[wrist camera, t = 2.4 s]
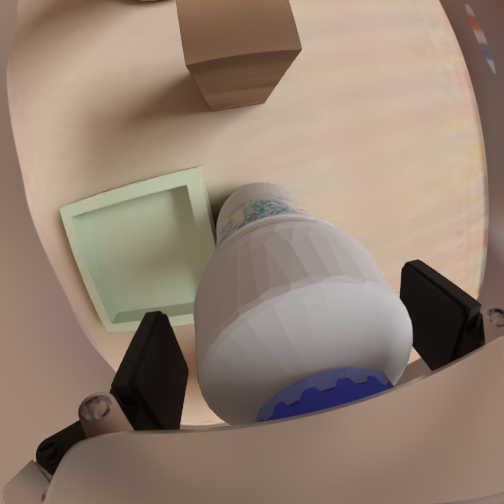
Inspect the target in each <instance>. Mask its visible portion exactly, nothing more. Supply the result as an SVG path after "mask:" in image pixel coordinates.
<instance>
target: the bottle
mask: <svg viewBox="0 0 504 504" xmlns="http://www.w3.org/2000/svg"><path fill="white" fill-rule="evenodd" d="M216 231H217V242H216V248H215V252H214V253H213V254H212V256H211V258H210V259H209V261H208V263H207V265H206V266H205V269H204V272H203V274H202V278H201V281H200V283H199V286H198V289H197V291H196V296H195V300H194V312H193V316H194V323H195V335H196V358H197V376H198V383H199V386H200V389H201V392H202V396H203V397H204V399H205V401H206V402H207V404H208V406H209V407H210V409H211V410H212V411H213V412H214V413H215V414H216V415H217V416H218V417H219V418H220V419H222V420H223V421H225V422H226V423H228V424H230V425H231V426H234V425H242V424H250V423H257V422H264V421H270V420H276V419H281V418H287V417H292V416H296V415H301V414H306V413H310V412H315V411H319V410H323V409H327V408H331V407H334V406H338V405H342V404H345V403H348V402H352V401H355V400H358V399H362V398H365V397H368V396H371V395H374V394H377V393H380V392H382V391H385V390H388V389H391V388H393V387H394V385H395V383H396V382H397V381H398V380H399V378H400V377H401V375H402V373H403V371H404V369H405V367H406V365H407V363H408V361H409V357H410V352H411V348H412V344H413V333H412V324H411V320H410V317H409V315H408V312H407V309H406V307H405V306H404V304H403V303H402V301H401V300H400V298H399V297H398V295H397V294H396V292H395V291H394V289H393V288H392V287H391V285H390V284H389V282H388V281H387V279H386V278H385V277H384V275H383V274H382V272H381V271H380V269H379V268H378V266H377V265H376V263H375V261H374V260H373V258H372V256H371V254H370V253H369V252H368V251H367V249H366V248H365V247H364V246H363V245H362V244H361V243H360V242H359V241H358V240H357V239H356V238H354V237H353V236H351V235H350V234H348V233H346V232H344V231H343V230H341V229H340V228H338V227H337V226H336V225H334V224H332V223H330V222H328V221H326V220H323V219H320V218H317V217H314V216H312V215H311V214H309V213H308V212H307V211H306V210H305V209H304V208H303V207H302V205H301V204H300V203H299V202H298V200H297V199H296V198H295V197H294V196H293V195H292V194H291V193H289V192H288V191H286V190H285V189H283V188H281V187H279V186H277V185H274V184H271V183H254V184H249V185H245V186H242V187H240V188H238V189H237V190H235V191H234V192H233V193H232V194H231V195H230V196H229V198H228V199H227V200H226V201H225V203H224V204H223V206H222V208H221V210H220V213H219V216H218V220H217V230H216Z"/></svg>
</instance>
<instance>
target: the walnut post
mask: <svg viewBox="0 0 504 504" xmlns="http://www.w3.org/2000/svg"><path fill="white" fill-rule="evenodd" d="M176 6H177V13H178V20H179V26H180V33H181V40H182V46H183V52H184V59H185V65H186V67H187V69H188V70H189V72H190V74H191V75H192V77H193V79H194V81H195V82H196V84H197V86H198V88H199V89H200V91H201V93H202V95H203V97H204V98H205V100H206V102H207V104H208V105H209V107H210V109H211V111H212V112H213V111H218V110H224V109H229V108H235V107H240V106H247V105H253V104H260V103H265V101H266V100H267V98H268V97H269V95H270V94H271V92H272V91H273V90H274V88H275V87H276V85H277V84H278V82H279V81H280V79H281V78H282V76H283V75H284V74H285V72H286V71H287V69H288V68H289V67H290V65H291V64H292V62H293V61H294V60H295V58H296V57H297V56H298V54H299V53H300V51H301V50H302V47H301V43H300V39H299V35H298V31H297V28H296V24H295V20H294V17H293V13H292V10H291V7H290V3H289V0H176Z"/></svg>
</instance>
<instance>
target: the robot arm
mask: <svg viewBox="0 0 504 504" xmlns="http://www.w3.org/2000/svg"><path fill="white" fill-rule="evenodd" d="M141 1H156V0H141ZM400 300H401V301H402V303H403V304H404V306H405V307H406V309H407V312H408V315H409V317H410V320H411V324H412V333H413V344H412V346H413V347H414V349H415V350H416V351H417V352H418V354H419V355H420V356H421V357H422V359H423V360H424V361H425V363H426V364H427V365H428V366H429V368H430V369H431V370H432V372H430V373H428V374H425V375H423V376H421V377H418V378H416V379H414V380H412V381H409V382H406V383H404V384H401V385H399V386H396V387H393V388H391V389H388V390H385V391H382V392H380V393H377V394H374V395H371V396H368V397H365V398H362V399H358V400H355V401H352V402H348V403H345V404H342V405H338V406H334V407H331V408H327V409H323V410H319V411H315V412H310V413H306V414H301V415H296V416H292V417H287V418H281V419H276V420H270V421H264V422H257V423H250V424H242V425H234V426H224V427H212V428H199V429H180V422H181V416H182V409H183V403H184V397H185V391H186V385H187V379H188V366H187V363H186V361H185V359H184V356H183V354H182V352H181V349H180V347H179V344H178V342H177V339H176V337H175V334H174V332H173V329H172V327H171V324H170V321H169V319H168V316H167V315H166V314H163V313H162V312H161V311H153V312H146V313H145V315H144V317H143V319H142V321H141V323H140V325H139V327H138V329H137V331H136V333H135V335H134V337H133V339H132V341H131V343H130V345H129V347H128V349H127V351H126V354H125V356H124V358H123V360H122V362H121V364H120V366H119V369H118V371H117V373H116V375H115V378H114V380H113V382H112V384H111V386H112V388H111V390H110V392H109V393H108V392H97V393H94V394H91V395H90V396H88V397H87V398H85V399H84V401H82V403H81V405H80V406H79V410H78V415H79V419H80V420H79V421H77V422H75V423H74V424H72V425H70V426H68V427H67V428H65V429H63V430H61V431H60V432H58V433H56V434H55V435H52V436H51V437H49V438H47V439H45V440H44V441H43V442H42V443H41V444H40V445H39V446H38V449H37V452H36V460H37V461H36V462H34V461H33V460H31V461H30V462H29V463H28V464H27V465H26V466H25V467H24V468H23V469H22V470H21V471H19V473H17V474H16V475H15V476H14V477H13V478H12V479H11V480H10V481H9V482H8V483H7V484H6V485H5V487H4V490H3V499H4V501H5V503H6V504H504V308H502V307H498V306H491V307H488V308H486V309H485V310H484V312H483V314H481V313H480V308H481V304H480V303H479V302H478V301H476V300H475V299H474V298H472V297H471V296H470V295H468V294H467V293H466V292H464V291H463V290H462V289H460V288H459V287H458V286H456V285H455V284H454V283H452V282H451V281H449V280H448V279H447V278H445V277H444V276H442V275H441V274H440V273H438V272H437V271H435V270H434V269H432V268H431V267H429V266H428V265H426V264H425V263H424V262H422V261H421V260H418V259H417V260H413V261H409V262H406V263H405V265H404V267H403V268H402V272H401V287H400ZM179 429H180V430H179Z"/></svg>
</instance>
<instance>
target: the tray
mask: <svg viewBox="0 0 504 504" xmlns="http://www.w3.org/2000/svg"><path fill="white" fill-rule="evenodd" d="M59 210H60V214H61V217H62V221H63V224H64V228H65V231H66V234H67V237H68V240H69V243H70V246H71V249H72V252H73V255H74V258H75V260H76V263H77V266H78V268H79V271H80V274H81V276H82V279H83V281H84V284H85V286H86V288H87V291H88V293H89V296H90V298H91V300H92V302H93V305H94V307H95V309H96V311H97V313H98V315H99V318H100V320H101V322H102V324H103V326H104V328H105V330H106V332H107V333H119V332H129V331H137V329H138V327H139V325H140V323H141V321H142V319H143V317H144V315H145V313H146V312H153V311H161V312H162V313H163V314H166V315H167V316H168V319H169V321H170V324H171V327H173V326H180V325H187V324H195V323H194V316H193V312H194V300H195V296H196V291H197V289H198V286H199V283H200V281H201V278H202V274H203V272H204V269H205V266H206V265H207V263H208V261H209V259H210V258H211V256H212V254H213V253H214V252H215V248H216V242H217V233H216V228H215V224H214V219H213V215H212V210H211V206H210V201H209V196H208V191H207V187H206V182H205V177H204V172H203V167H202V166H198V167H193V168H189V169H185V170H180V171H176V172H172V173H168V174H164V175H160V176H157V177H153V178H149V179H146V180H142V181H138V182H135V183H131V184H128V185H125V186H121V187H118V188H115V189H112V190H108V191H105V192H102V193H99V194H96V195H93V196H90V197H87V198H84V199H82V200H79V201H76V202H73V203H71V204H69V205H66V206H64V207H62V208H59Z"/></svg>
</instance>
